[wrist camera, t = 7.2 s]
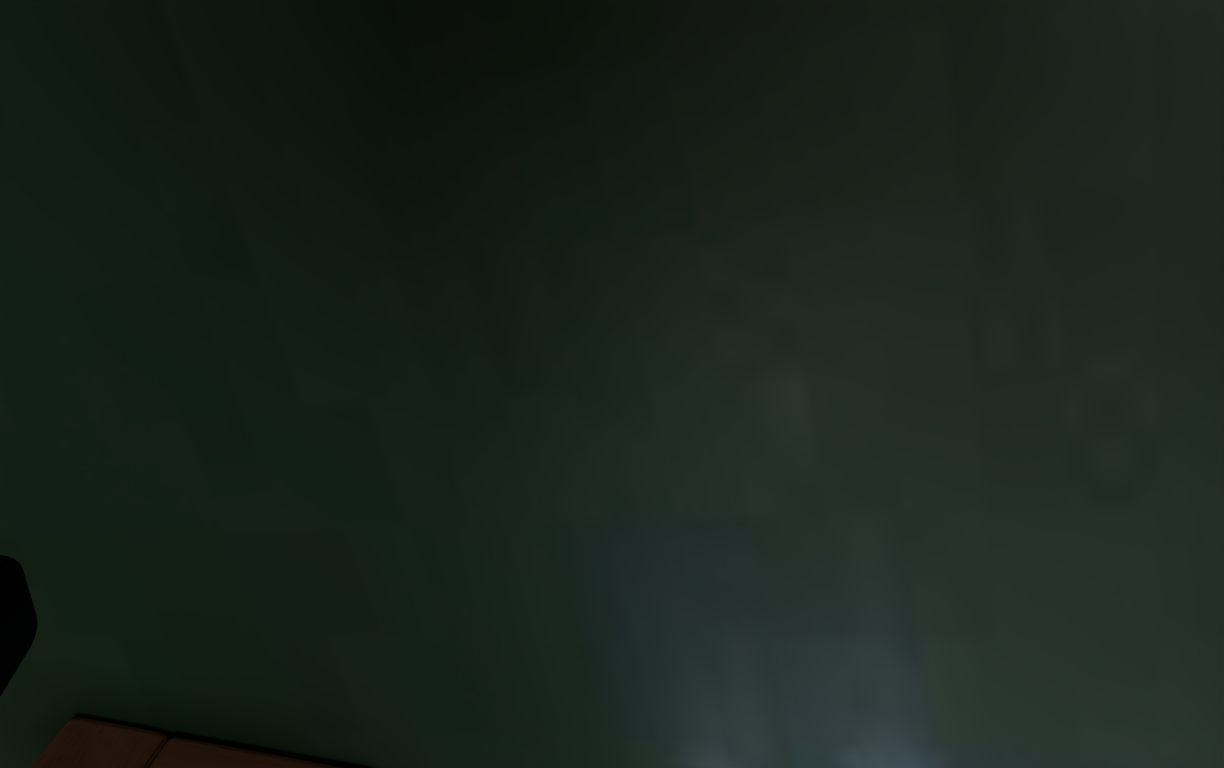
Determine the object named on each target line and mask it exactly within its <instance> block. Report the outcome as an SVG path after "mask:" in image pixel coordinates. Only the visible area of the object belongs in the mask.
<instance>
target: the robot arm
mask: <svg viewBox="0 0 1224 768" xmlns="http://www.w3.org/2000/svg"><path fill="white" fill-rule="evenodd" d="M36 631H37V615H36V612H35V609H34V605H33V602H32V598H31V595H30V592H29V588H28V585H27V582H26V578H25V575H24V571H23V569H22V567H21V565H20V563H19V562H18V561H16V560H15V559H14V558H11V557H8V556H3V555H0V696H1V695H2V693H3V691H4V690H5V688H6V687H7V685H8V683H9V682H10V680H11V678H12V677H13V675H14V673H15V672H16V670H17V668H18V667H19V665H20V664H21V662H22V660H23V659H24V657H25V655H26V654H27V652H28V650H29V649H30V647H31V645H32V643H33V640H34V638H35V635H36Z"/></svg>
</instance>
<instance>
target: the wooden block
mask: <svg viewBox="0 0 1224 768" xmlns="http://www.w3.org/2000/svg"><path fill="white" fill-rule="evenodd" d="M30 768H343V767H338V766H332V765H327V764H322V763H316V762H311V761H306V760H300V759H295V758H289V757H284V756H279V755H273V754H268V753H263V752H257V751H252V750H246V749H241V748H236V747H230V746H225V745H220V744H214V743H209V742H204V741H198V740H193V739H187V738H182V737H173V738H171V739H170V740H169V738H168V737H167V736H166V735H164V734H163V733H161V732H157V731H152V730H147V729H141V728H136V727H131V726H125V725H120V724H115V723H109V722H104V721H98V720H93V719H88V718H82V717H76V718H73V719H71V720H70V721H68V722H67V723H66V724H65V726H64V727H63V728H62V729H61V730H60V732H59V733H58V734H57V735H56V737H55V738H54V739H53V740H52V741H51V743H50V744H49V745H48V746H47V748H46V749H45V750H44V751H43V752H42V754H41V755H40V756H39V757H38V759H37V760H36V761H35V762H34V763H33V765H32V766H31V767H30Z"/></svg>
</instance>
